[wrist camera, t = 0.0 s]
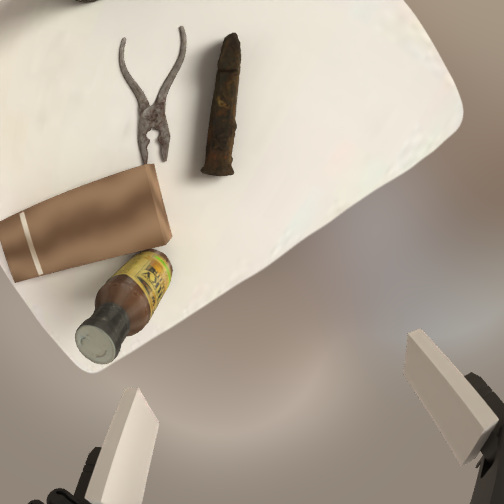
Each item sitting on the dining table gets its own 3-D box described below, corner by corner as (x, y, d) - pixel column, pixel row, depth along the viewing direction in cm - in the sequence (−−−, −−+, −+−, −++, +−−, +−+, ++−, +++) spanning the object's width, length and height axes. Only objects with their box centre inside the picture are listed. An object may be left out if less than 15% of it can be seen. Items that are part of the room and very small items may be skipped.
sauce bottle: (177, 287, 41) (137, 382, 22) (136, 288, 41) (77, 375, 22) (171, 243, 39) (118, 318, 20) (129, 246, 39) (55, 315, 20)
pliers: (180, 15, 29) (216, 145, 35) (181, 18, 30) (216, 145, 36) (114, 40, 29) (144, 168, 35) (116, 42, 30) (146, 168, 36)
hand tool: (233, 176, 37) (232, 179, 33) (201, 172, 37) (197, 174, 32) (255, 42, 32) (258, 28, 27) (225, 38, 31) (224, 24, 27)
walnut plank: (10, 218, 36) (-5, 223, 32) (153, 163, 36) (144, 164, 32) (27, 273, 39) (14, 283, 35) (172, 236, 39) (165, 245, 35)
